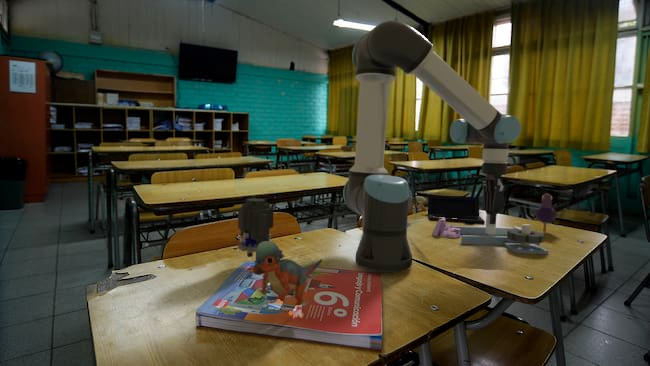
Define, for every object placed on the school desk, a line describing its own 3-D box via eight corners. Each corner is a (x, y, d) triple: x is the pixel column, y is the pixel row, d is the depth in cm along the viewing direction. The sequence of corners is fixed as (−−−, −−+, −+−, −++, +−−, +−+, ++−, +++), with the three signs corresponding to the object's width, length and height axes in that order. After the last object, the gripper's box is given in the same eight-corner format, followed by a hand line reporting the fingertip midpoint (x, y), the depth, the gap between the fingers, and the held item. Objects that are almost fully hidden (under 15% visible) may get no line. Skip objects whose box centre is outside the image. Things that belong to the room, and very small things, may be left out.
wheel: (517, 242, 109) (517, 236, 109) (502, 235, 119) (502, 228, 119) (550, 243, 109) (551, 236, 109) (533, 236, 119) (533, 229, 118)
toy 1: (264, 250, 107) (265, 197, 106) (278, 257, 100) (278, 201, 98) (235, 254, 102) (235, 198, 101) (247, 262, 95) (247, 203, 94)
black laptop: (429, 223, 152) (430, 199, 151) (426, 216, 168) (427, 194, 167) (484, 227, 148) (485, 201, 147) (476, 219, 164) (477, 196, 163)
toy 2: (252, 330, 65) (255, 245, 64) (236, 307, 75) (238, 231, 74) (345, 313, 74) (349, 237, 73) (320, 293, 84) (323, 226, 82)
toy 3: (564, 214, 139) (547, 205, 144) (563, 198, 131) (545, 189, 136) (544, 236, 139) (528, 226, 144) (542, 221, 131) (524, 211, 136)
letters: (461, 237, 131) (462, 220, 130) (452, 240, 126) (453, 222, 125) (440, 233, 136) (440, 216, 136) (430, 236, 131) (431, 219, 131)
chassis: (473, 252, 110) (474, 226, 109) (447, 232, 135) (448, 211, 134) (557, 254, 110) (559, 228, 109) (515, 234, 134) (517, 213, 134)
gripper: (515, 163, 118) (510, 238, 120) (497, 161, 131) (493, 229, 133) (491, 162, 118) (486, 237, 120) (475, 161, 131) (471, 228, 133)
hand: (490, 233), depth 127 cm, fingers closed
